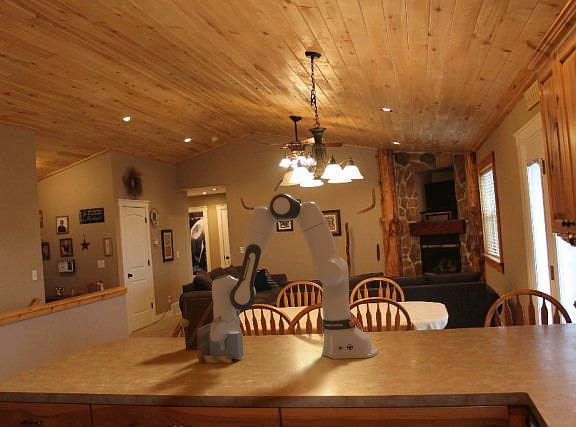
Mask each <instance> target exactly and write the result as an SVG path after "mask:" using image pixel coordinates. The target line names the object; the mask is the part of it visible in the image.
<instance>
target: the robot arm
mask: <svg viewBox="0 0 576 427" xmlns="http://www.w3.org/2000/svg"><path fill="white" fill-rule="evenodd" d="M293 220H295V221H296V223H297V224H298V225H299V228H300V230H301V232H302V235H303V238H304V240H305V242H306V245H307V247H308V250H309V253H310V255H311V259H312V263H313V266H314V269H315V273H316V275H317V279H318V280H319V281H320V283H321V284H322V293H321V306H322V307H321V309H322V317H323V318H322V320H321V321H322V323H321V325H322V332H323V346H322V352H321V354H322V356H324V357H327V358H330V359H331V358H332V360H335V359H336V360H339V359H359V358H360V359H364V358H365V359H366V358H372V357H375V356H376V355H377V354H378V353H379V350H378V347H376V346H373V344H372V341H371V338H370V335H368V334H367V333H366V332H365V331H362V330H361V329H360V328H359V327H357V324H356V323H357V321H356V318H353V317H351V308H350V293H349V292H350V287H349V286H350V281H349V277H350V276H349V274H350V273H349V266H348V263H347V262H346V260H345V259H344V258H343V257H341V256H340V254H339V250H338V248H337V244H336V241H335V237H334V235H333V233H332V231H331V228H330V226H329V224H328V222H327V219H326V217H325V215H324V213H323V211H322V210H321V208H320V207H319V206H318V204H317V203H316V202H314V201H310V200H308V201H303V202H301V203H300V202H299V201H298V200H296V198H294V197H293V195H290V194H288V193H278V194H276V195H274V196H273V197H272V199H271V200H270V202H269V206H265V205H264V206H263V205H261V206H256V207H254V208H253V209H252V212H251V214H250V216H249V218H248V221H247V224H246V228H245V233H244V237H243V238H244V239H243V260H242V264H241V268H240V271H239V273H240V274H239V276H238V278H235V277H233V276H232V275H231V274H224V275H221V276H220V275H219V276H217V277H215V278H214V279H213V280H212V284H211V293H212V298H213V302H214V305H213V314H214V320H213V322H212V324H211V341H212V342H219V344H220V348H221V350H225V349H226V345H225V344H224V341H225V340H224V339H226V338H227V334H228V333H229V332H240V328H241V326H240V323H241V322H240V317H239V316H240V313H241V311H246V310H248V309H250V308H251V307H252V306H253V305H254V303H255V301H256V293H257V290H256V288H255V280H256V276H257V273H258V272H257V271H258V268H259V265H260V262H261V260H262V258H263V256H264V255H265V253H266V252H267V250H268V247H269V245H270V242H271V239H272V236H273V235H272V234H273V230H274V228H275V225H276V224H277V223H283V222H284V223H286V222H291V221H293Z"/></svg>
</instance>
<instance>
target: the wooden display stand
mask: <svg viewBox="0 0 576 427" xmlns="http://www.w3.org/2000/svg"><path fill="white" fill-rule="evenodd" d="M211 324H212V323H210V324H208V325H205V326H203V327H200V328H198V329H196V331H197V345H198V350H197V355H198V364H204V363H209V364H210V363H213V364H215V363H216V364H217V363H219V364H220V363H221V364H223V363H224V364H230V363H232V362H233V360H232V357H231V356H210V344H209V334H210V333H211Z"/></svg>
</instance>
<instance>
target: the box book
mask: <svg viewBox="0 0 576 427" xmlns="http://www.w3.org/2000/svg"><path fill="white" fill-rule="evenodd" d="M224 340H225V341H224V344H225V345H226V349H225V350H221V348H220V344H219V342H212V341H211V333H210V334H209V344H210V356H231V357H232V359H234V360H235V359H237V360H238V359H240V358H242V357H244V355H245V354H244V342H243V331H239V332H229V333H228V334H227V338H226V339H224Z"/></svg>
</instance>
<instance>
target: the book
mask: <svg viewBox="0 0 576 427" xmlns="http://www.w3.org/2000/svg"><path fill="white" fill-rule="evenodd" d="M181 299H182V312H183V317H182V318H180V319H179V326H180V327H181V328H184V340H185V351H186V350H188V351H198V345H197V331H196V329H198V328H200V327H203V326H205V325H208V324H210V323H212V322H213V320H214V314H213V305H214V302H213V298H212V292H200V293H185V294H184V295H182V297H181Z"/></svg>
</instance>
